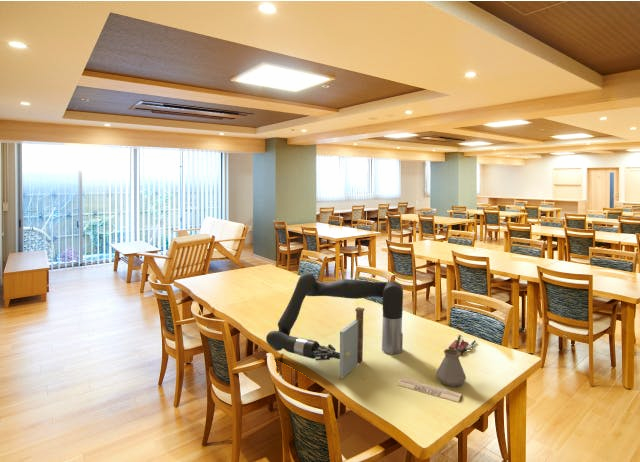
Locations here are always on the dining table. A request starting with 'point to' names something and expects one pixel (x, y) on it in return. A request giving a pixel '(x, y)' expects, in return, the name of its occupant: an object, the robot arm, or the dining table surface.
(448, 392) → the tan flat bar
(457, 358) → the coffee pot
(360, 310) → the hinge post
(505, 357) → the dining table surface
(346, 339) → the door
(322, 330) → the dining table surface
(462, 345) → the dried flower sprig
